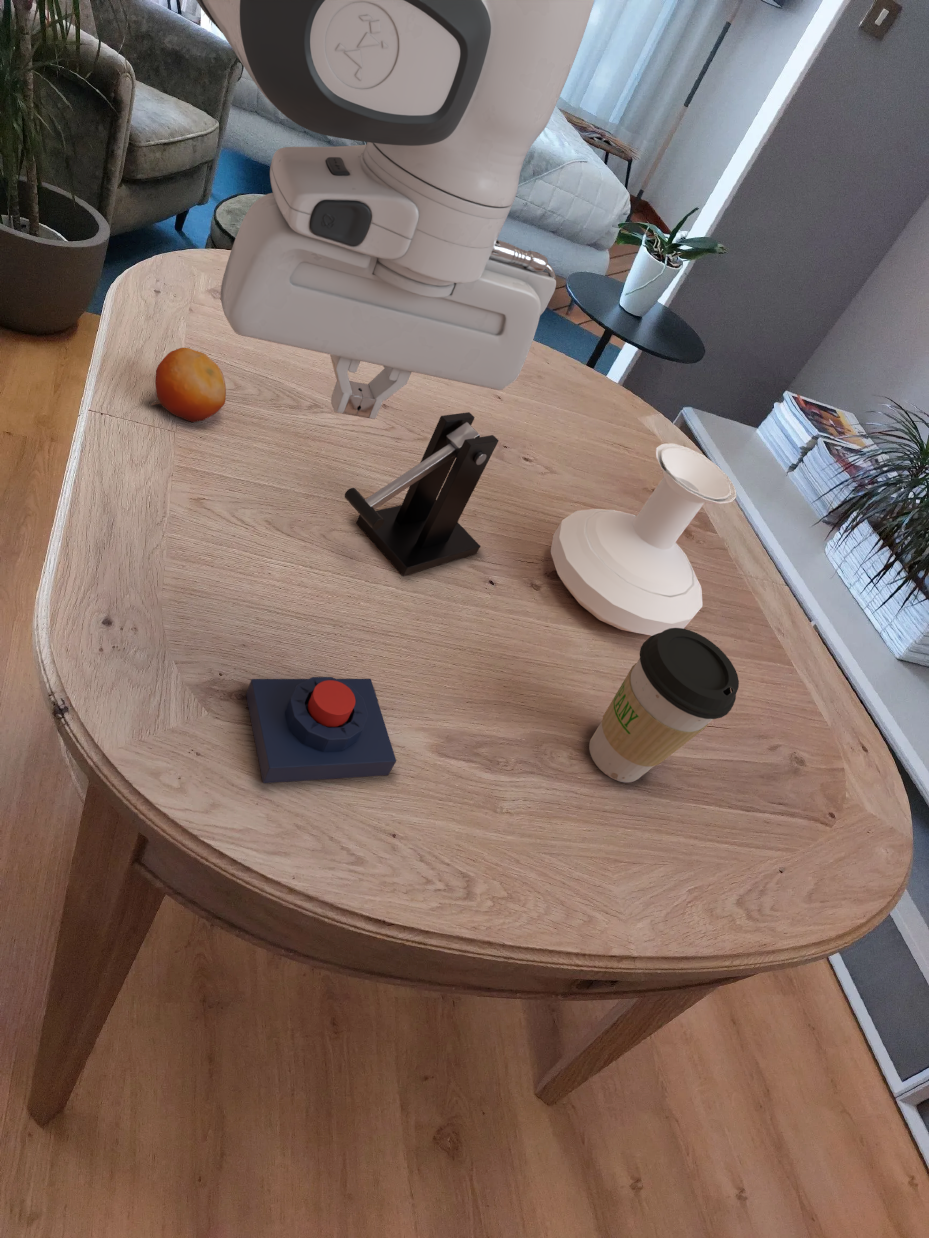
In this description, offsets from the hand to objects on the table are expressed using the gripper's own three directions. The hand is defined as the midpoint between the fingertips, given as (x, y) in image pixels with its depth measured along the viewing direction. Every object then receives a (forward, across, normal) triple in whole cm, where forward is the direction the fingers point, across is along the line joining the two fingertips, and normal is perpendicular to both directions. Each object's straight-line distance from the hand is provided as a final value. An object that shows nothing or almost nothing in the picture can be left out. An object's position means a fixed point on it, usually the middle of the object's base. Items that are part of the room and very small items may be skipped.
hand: (352, 411), depth 58 cm
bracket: (+27, -22, -19) cm, 40 cm away
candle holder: (+27, -47, -12) cm, 56 cm away
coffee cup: (+27, -35, +12) cm, 46 cm away
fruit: (+28, +2, -38) cm, 47 cm away
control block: (+28, -4, +8) cm, 29 cm away
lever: (+18, -17, -17) cm, 30 cm away
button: (+24, -4, +8) cm, 25 cm away
